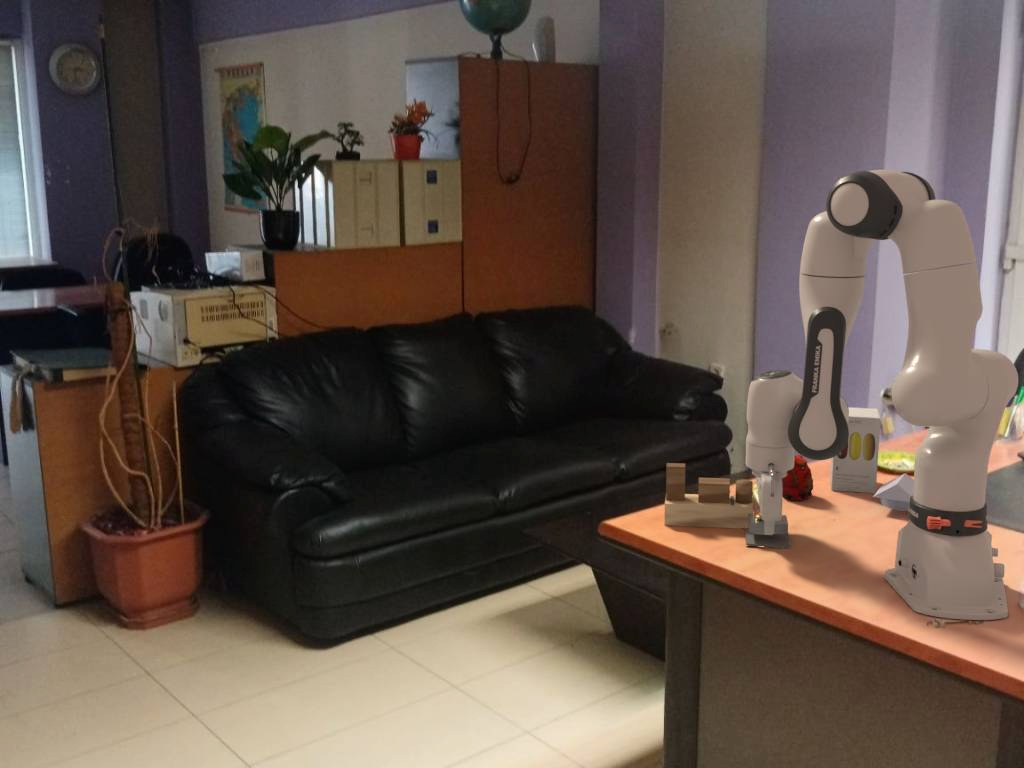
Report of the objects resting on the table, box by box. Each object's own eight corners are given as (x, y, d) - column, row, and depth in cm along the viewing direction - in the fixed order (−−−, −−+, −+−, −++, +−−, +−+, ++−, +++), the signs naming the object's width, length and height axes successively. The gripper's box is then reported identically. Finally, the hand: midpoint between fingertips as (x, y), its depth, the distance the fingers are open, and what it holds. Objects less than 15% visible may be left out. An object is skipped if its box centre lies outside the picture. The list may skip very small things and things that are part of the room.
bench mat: (790, 548, 189) (790, 545, 188) (746, 546, 190) (746, 543, 190) (787, 533, 196) (787, 530, 196) (745, 531, 198) (745, 528, 198)
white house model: (918, 519, 202) (930, 501, 213) (920, 487, 201) (932, 470, 212) (871, 512, 207) (885, 494, 218) (873, 480, 206) (887, 464, 216)
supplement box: (830, 491, 221) (833, 415, 217) (829, 478, 230) (832, 405, 226) (877, 493, 218) (881, 417, 215) (874, 481, 227) (878, 407, 224)
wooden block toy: (752, 528, 199) (754, 472, 197) (664, 525, 202) (664, 469, 200) (751, 517, 205) (752, 462, 203) (665, 514, 209) (666, 460, 206)
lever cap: (787, 534, 190) (788, 521, 189) (749, 532, 191) (749, 519, 190) (785, 525, 194) (786, 512, 194) (748, 523, 196) (748, 510, 195)
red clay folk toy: (806, 504, 213) (808, 434, 210) (772, 499, 216) (775, 430, 213) (816, 494, 219) (819, 426, 216) (783, 489, 223) (786, 422, 220)
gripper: (791, 473, 179) (789, 548, 182) (783, 443, 199) (781, 510, 202) (754, 472, 180) (752, 546, 183) (750, 442, 200) (749, 509, 203)
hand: (768, 527), depth 193 cm, fingers closed on lever cap, 5 cm apart
